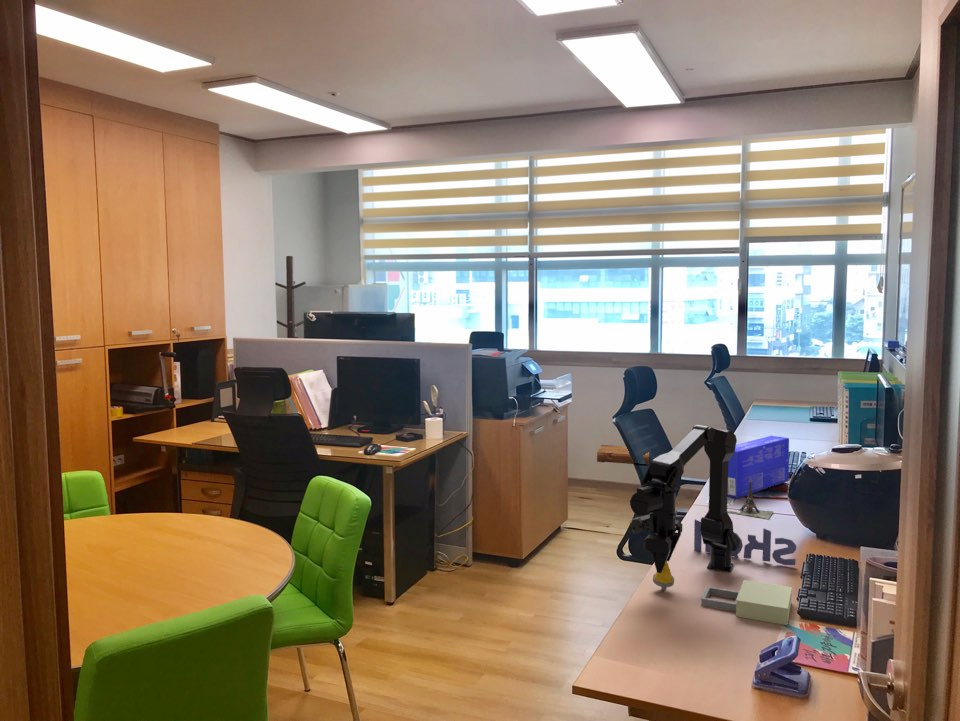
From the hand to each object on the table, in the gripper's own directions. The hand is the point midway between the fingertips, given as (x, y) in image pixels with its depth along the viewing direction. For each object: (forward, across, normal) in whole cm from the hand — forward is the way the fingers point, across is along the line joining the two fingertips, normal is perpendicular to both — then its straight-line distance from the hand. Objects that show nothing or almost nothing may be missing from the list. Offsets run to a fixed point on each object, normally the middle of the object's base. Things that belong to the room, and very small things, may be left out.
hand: (663, 566), depth 194 cm
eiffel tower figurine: (+8, -84, +12) cm, 85 cm away
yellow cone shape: (+7, 0, 0) cm, 7 cm away
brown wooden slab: (+8, -145, -50) cm, 153 cm away
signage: (+7, -34, +16) cm, 38 cm away
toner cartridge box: (+7, -119, +10) cm, 120 cm away
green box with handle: (+6, +1, +15) cm, 16 cm away
